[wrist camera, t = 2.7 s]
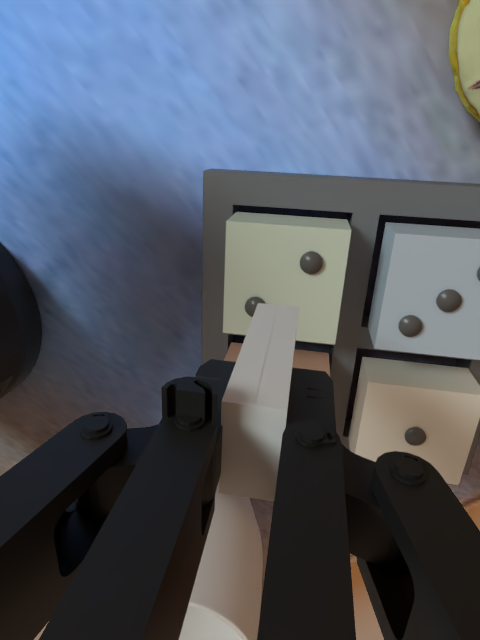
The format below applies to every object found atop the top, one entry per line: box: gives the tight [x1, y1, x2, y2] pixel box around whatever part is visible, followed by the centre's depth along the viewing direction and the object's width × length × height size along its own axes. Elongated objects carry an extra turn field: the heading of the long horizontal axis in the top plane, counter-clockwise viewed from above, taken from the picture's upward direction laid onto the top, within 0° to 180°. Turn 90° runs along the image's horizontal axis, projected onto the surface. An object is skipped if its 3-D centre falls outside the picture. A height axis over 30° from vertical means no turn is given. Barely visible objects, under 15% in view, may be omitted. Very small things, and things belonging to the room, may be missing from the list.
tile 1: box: [348, 357, 480, 485], centre depth 25 cm, size 6×6×3 cm
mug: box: [179, 482, 263, 640], centre depth 30 cm, size 12×9×12 cm
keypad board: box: [202, 169, 480, 474], centre depth 27 cm, size 18×18×2 cm
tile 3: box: [368, 222, 480, 360], centre depth 22 cm, size 6×6×3 cm
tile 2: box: [223, 212, 351, 345], centre depth 23 cm, size 6×6×3 cm
